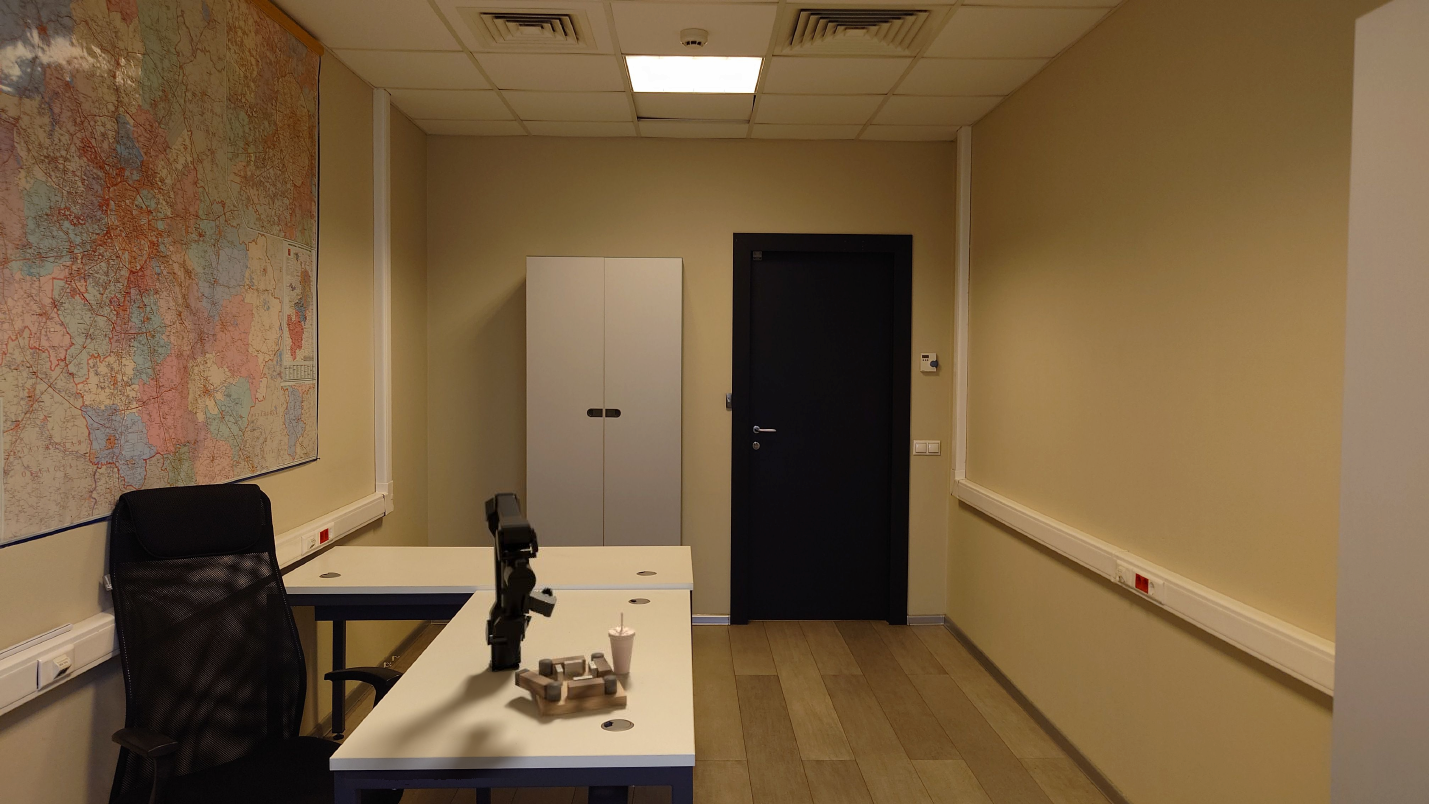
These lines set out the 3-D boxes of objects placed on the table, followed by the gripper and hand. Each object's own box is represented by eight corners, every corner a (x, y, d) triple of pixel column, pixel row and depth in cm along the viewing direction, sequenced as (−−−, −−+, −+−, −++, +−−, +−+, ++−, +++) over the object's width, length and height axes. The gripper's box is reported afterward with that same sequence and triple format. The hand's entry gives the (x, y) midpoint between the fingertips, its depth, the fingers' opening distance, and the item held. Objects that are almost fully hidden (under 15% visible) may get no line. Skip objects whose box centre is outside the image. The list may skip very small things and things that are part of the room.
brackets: (561, 695, 168) (561, 681, 168) (554, 675, 178) (554, 662, 178) (601, 689, 171) (601, 676, 171) (591, 670, 181) (591, 658, 181)
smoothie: (636, 665, 190) (636, 608, 189) (634, 676, 183) (634, 617, 183) (609, 665, 190) (609, 608, 189) (606, 676, 183) (606, 617, 182)
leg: (564, 697, 166) (564, 683, 166) (552, 702, 164) (552, 688, 164) (525, 680, 175) (525, 667, 175) (514, 685, 173) (514, 671, 172)
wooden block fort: (541, 716, 163) (541, 693, 162) (530, 679, 181) (530, 658, 181) (626, 704, 169) (626, 681, 168) (607, 669, 187) (607, 648, 187)
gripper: (549, 594, 159) (549, 669, 160) (558, 569, 177) (558, 636, 178) (492, 595, 158) (493, 671, 159) (507, 570, 176) (508, 638, 177)
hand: (516, 653), depth 168 cm, fingers closed
